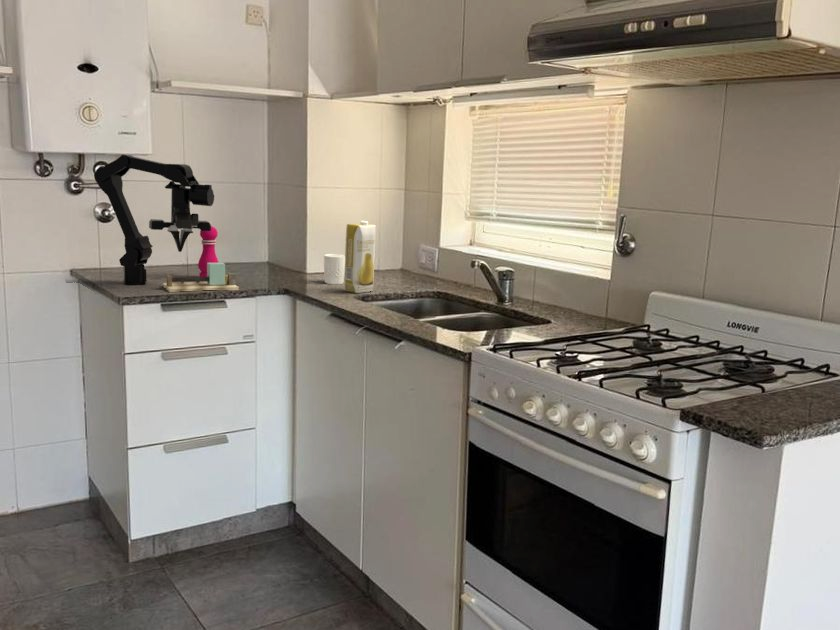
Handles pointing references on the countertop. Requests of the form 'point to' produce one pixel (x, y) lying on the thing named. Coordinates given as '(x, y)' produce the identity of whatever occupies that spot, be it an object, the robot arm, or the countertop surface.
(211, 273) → the sleeve
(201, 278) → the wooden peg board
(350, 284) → the juice carton
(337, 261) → the white cup
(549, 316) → the countertop surface
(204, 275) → the pepper mill
